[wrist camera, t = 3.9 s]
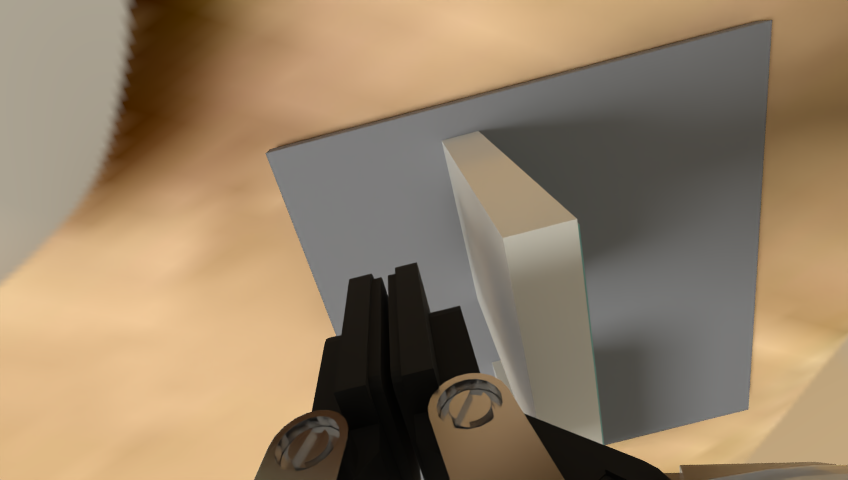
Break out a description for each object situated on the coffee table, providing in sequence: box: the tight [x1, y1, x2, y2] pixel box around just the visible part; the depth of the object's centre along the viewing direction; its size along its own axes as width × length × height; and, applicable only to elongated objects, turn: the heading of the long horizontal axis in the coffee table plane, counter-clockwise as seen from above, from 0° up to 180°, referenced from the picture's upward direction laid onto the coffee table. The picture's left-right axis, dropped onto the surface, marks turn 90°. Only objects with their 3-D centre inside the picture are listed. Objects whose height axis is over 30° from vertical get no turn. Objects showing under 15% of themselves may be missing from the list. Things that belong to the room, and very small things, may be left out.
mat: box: [266, 20, 772, 480], centre depth 18 cm, size 16×16×1 cm
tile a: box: [442, 131, 604, 445], centre depth 12 cm, size 6×1×8 cm, turn 14°
